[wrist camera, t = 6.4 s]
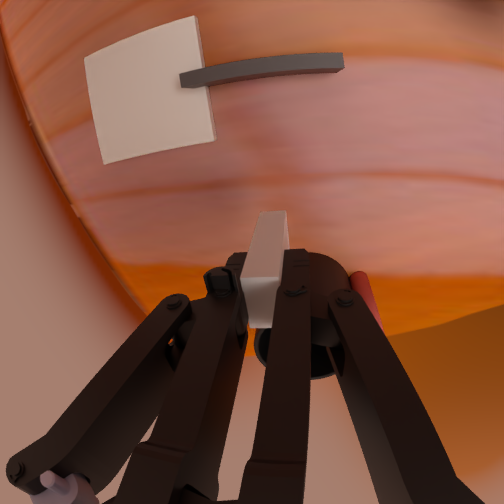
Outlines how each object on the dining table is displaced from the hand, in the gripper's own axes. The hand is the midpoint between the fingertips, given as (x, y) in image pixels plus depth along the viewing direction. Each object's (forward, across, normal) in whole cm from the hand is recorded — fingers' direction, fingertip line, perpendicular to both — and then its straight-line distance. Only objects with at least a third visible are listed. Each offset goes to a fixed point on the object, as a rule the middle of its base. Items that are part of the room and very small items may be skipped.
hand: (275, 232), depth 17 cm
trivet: (+10, -11, +11) cm, 19 cm away
